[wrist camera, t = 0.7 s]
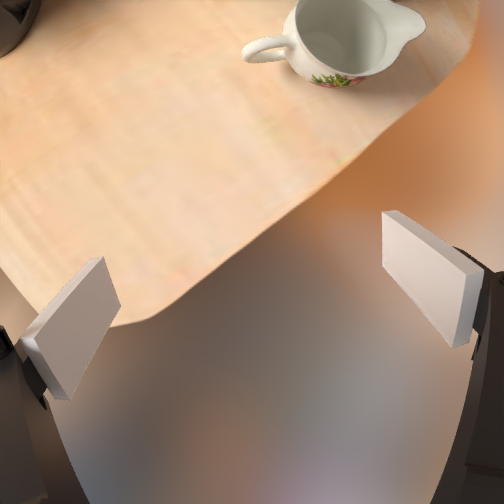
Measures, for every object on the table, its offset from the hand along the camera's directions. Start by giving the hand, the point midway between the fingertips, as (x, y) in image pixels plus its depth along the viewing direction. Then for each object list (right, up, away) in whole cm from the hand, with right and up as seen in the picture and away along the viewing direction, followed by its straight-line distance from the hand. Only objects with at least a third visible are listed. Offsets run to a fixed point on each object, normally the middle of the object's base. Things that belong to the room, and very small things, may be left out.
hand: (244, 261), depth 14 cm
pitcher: (+8, +25, +20) cm, 34 cm away
